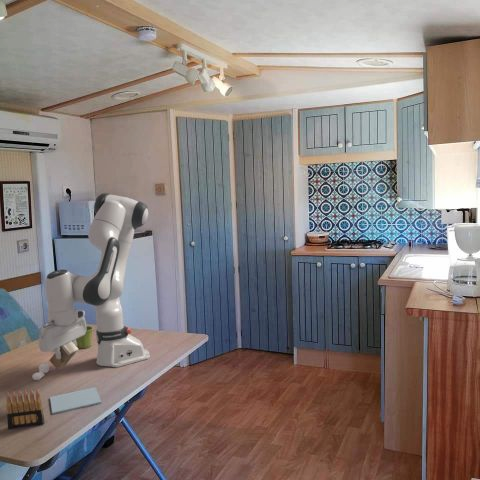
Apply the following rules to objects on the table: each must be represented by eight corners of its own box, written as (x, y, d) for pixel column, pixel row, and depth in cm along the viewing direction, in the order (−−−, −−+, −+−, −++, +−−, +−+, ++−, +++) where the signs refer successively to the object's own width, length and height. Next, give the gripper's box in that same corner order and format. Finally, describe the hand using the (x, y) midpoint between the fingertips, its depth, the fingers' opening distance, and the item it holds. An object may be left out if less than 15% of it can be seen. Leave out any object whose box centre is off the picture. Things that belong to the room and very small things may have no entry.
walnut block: (58, 355, 177) (70, 339, 174) (65, 364, 177) (78, 349, 174) (49, 360, 173) (61, 344, 170) (57, 369, 173) (70, 353, 169)
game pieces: (41, 371, 206) (40, 363, 206) (49, 370, 206) (48, 363, 206) (31, 382, 194) (31, 374, 194) (40, 381, 195) (39, 373, 194)
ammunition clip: (7, 429, 156) (3, 393, 155) (9, 426, 158) (5, 391, 157) (43, 424, 158) (39, 389, 157) (44, 422, 160) (40, 386, 158)
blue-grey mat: (95, 388, 184) (95, 387, 184) (101, 403, 171) (101, 401, 171) (50, 398, 178) (49, 396, 178) (52, 414, 165) (52, 412, 165)
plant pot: (70, 347, 234) (69, 329, 233) (89, 342, 240) (87, 324, 239) (79, 351, 227) (77, 333, 226) (98, 346, 234) (96, 328, 233)
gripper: (47, 326, 161) (51, 367, 162) (87, 309, 180) (91, 346, 181) (32, 325, 163) (36, 365, 165) (73, 309, 182) (77, 345, 184)
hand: (65, 355), depth 173 cm, fingers closed on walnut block, 4 cm apart
